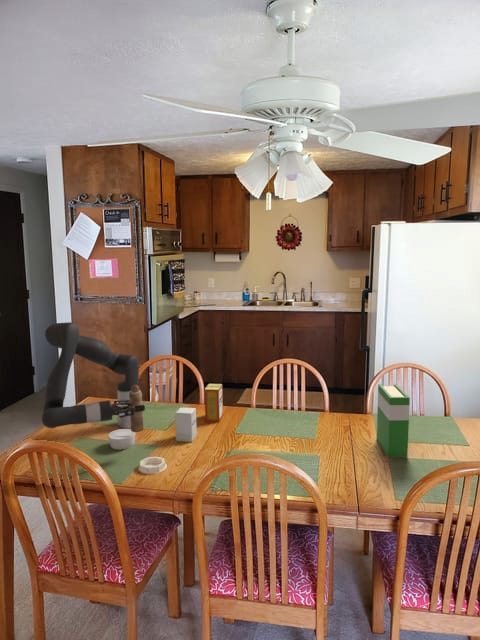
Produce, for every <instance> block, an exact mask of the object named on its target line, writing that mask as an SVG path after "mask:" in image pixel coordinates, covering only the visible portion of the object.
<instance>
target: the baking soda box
mask: <svg viewBox="0 0 480 640" xmlns="http://www.w3.org/2000/svg"><path fill="white" fill-rule="evenodd" d="M223 400H224V398H223V384H222V383H208V384H207V385H206V387H205V388H204V412H205V413H204V416H205V422H208V423H210V422H211V423H220V422H221V420H222V418H223V416H224V404H223V403H224V402H223Z"/></svg>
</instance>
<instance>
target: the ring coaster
mask: <svg viewBox="0 0 480 640" xmlns="http://www.w3.org/2000/svg"><path fill="white" fill-rule="evenodd" d="M167 467H168V465H167V463H166V462H165V458H164V457H159V456H150V457H149V456H148V457H145V458H143V459H141V460H140V461H139V466H138V471H139V472H140V473H142V474H149V475H150V474H151V475H153V474H158V473H161V472H163V471H165V470H166V469H167Z"/></svg>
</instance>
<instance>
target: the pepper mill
mask: <svg viewBox="0 0 480 640" xmlns="http://www.w3.org/2000/svg"><path fill="white" fill-rule="evenodd" d="M129 399H130V406H139V405H143V392H142V391H141V389H140V386H139V384H138V385H133V386H132V388H131V391H130V393H129ZM130 419H131V428H130V429H131V431H132V432H135V433H140V432H143V431H144V411H139V412H135V413H134V415H131V416H130Z"/></svg>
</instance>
